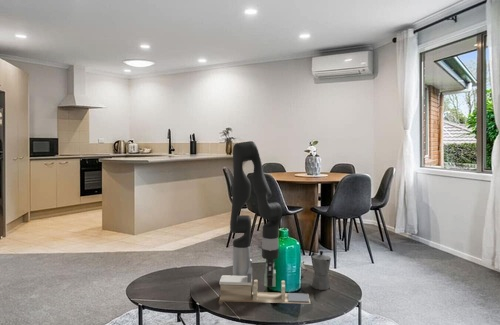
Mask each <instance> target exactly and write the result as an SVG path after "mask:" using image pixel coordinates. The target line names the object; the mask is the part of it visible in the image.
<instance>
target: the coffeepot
mask: <svg viewBox="0 0 500 325" xmlns="http://www.w3.org/2000/svg"><path fill="white" fill-rule="evenodd" d="M310 258H311V262H312V264H311V265H312V269H313V276H312V281H311V287H312V288H313V289H314V288H315V290H317V289H319V290H318V291H327V290H330V289H331V283H330V277H329V271H330V265H331V260H332V258H331V256H329V255H326V254H324V251H322V250H321V251H319V254H318V253H317V252H312V253H311V255H310Z"/></svg>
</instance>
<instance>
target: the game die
mask: <svg viewBox="0 0 500 325" xmlns="http://www.w3.org/2000/svg"><path fill="white" fill-rule="evenodd" d="M304 263H305V261H303V262H301V276H300V277H303V278H304V276H303V275H304V274H305V273H306V272H307V271H308V269H306V266H305V264H304Z"/></svg>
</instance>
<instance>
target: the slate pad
mask: <svg viewBox="0 0 500 325" xmlns="http://www.w3.org/2000/svg"><path fill="white" fill-rule="evenodd" d="M287 293H288V302H309V299H310V297H309V298H308V294H309V293H303V294H299V293H297V292H287Z"/></svg>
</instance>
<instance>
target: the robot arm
mask: <svg viewBox="0 0 500 325" xmlns="http://www.w3.org/2000/svg"><path fill="white" fill-rule="evenodd" d="M250 161H251V162H252V164H253V173H252V178H251V181H250V178H248V176H247V174H246V173H245V172H244V169H243V164H244V163H245V162H250ZM232 168H233V173H232V174H233V176H232V178H233V179H232V189H231V190H232V191H231V192H232V194H231V195H232V196H231V197H232V198H231V199H232V200H231V213H230V222H229V224H230V226H229V227H230V232H231V233H233V234H243V235H242V236H240V237H238V238H235V239H234V240H233V242H232V275H233V276H248V270H249V267H252V268H253V264H252V263H253V260H252V259H251V236H252V234H251V233H252V218H251V216H250V215H241V214H239V213H240V211H241V210H242V209H243V207H244V206H245V205H246V204H247V202H248V201H249V199H250V198H251V192H252V189H253V192H254V194H255V196H256V197H255V198H256V199H257V200H256V201H257V209H258V214H259V216H260V217H261V218H262V219H263V220H268V222H266V223H265V224H263V225H262V239H261V257H262V259H265V269H266V273H267V286H266V287H267V288H268V287H269V288H270V287H271V288H272V279H273V273H274V270H275V260H276V259H279V256H280V255H279V248H280V247H279V243H280V241H279V227H280V225H281V224H280V223H281V220H282V216H283V208H282V205H281V204H280V203H279V202H276V201H275V202H269V201H268V200H269V199H271V197H272V195H273V194H272V191H271V188H270V186H269V182H268V181H267V178H266V176H265V172H264V168H263V164H262V159H261V157H260V152H259V149H258V147H257V144H256V143H255V142H254V141H253V140H252V141H251V140H250V141H242V142H241V141H240V142H236V143H235V144H234V145H233V147H232ZM268 274H272V276H268Z"/></svg>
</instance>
